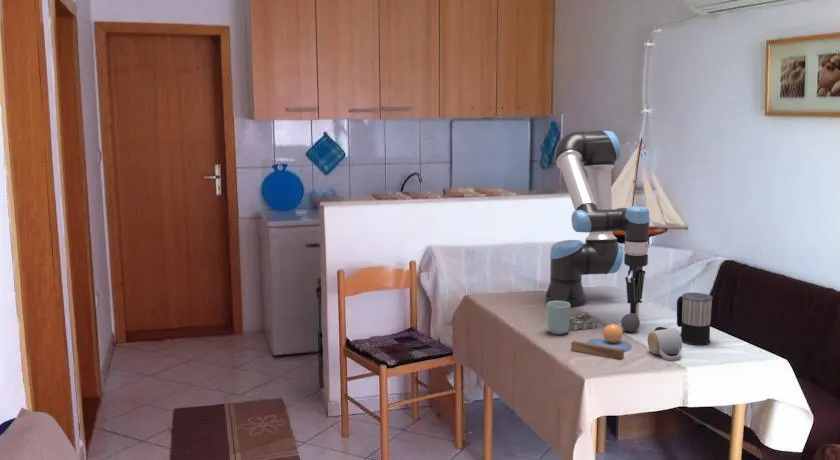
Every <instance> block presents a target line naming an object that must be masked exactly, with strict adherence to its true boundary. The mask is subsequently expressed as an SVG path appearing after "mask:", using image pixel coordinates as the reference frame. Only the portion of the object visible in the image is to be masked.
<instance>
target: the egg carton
mask: <svg viewBox="0 0 840 460" xmlns="http://www.w3.org/2000/svg"><path fill="white" fill-rule="evenodd" d="M597 322H598V320H597V319H595V317H592V315H591V314H590V313H589V312H582V313H579V315H575V316H573V317H572V316H570V325H569V329H568V331H578V330H579V329H581V330H586V329H589V328H590V329H595V328H596V327H597Z"/></svg>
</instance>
